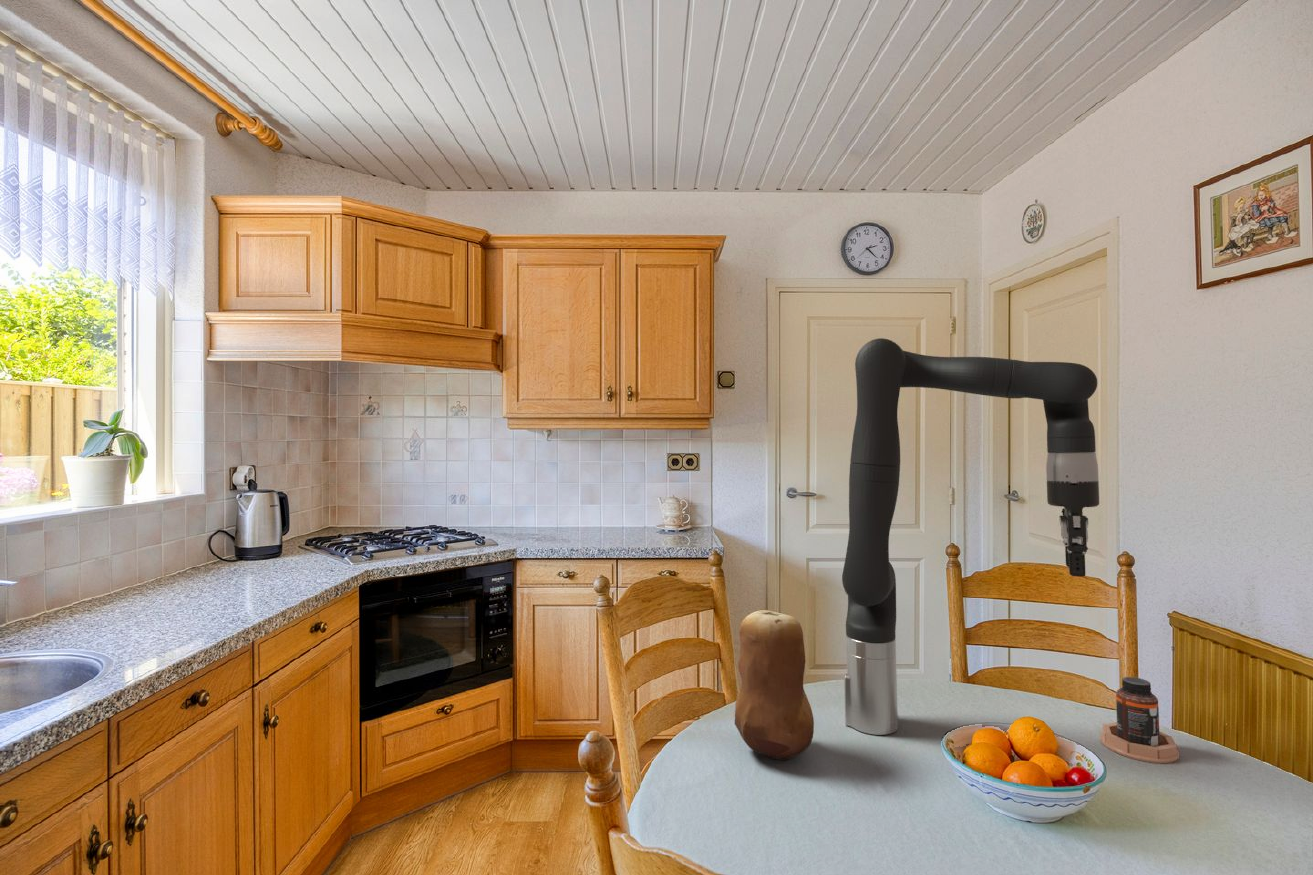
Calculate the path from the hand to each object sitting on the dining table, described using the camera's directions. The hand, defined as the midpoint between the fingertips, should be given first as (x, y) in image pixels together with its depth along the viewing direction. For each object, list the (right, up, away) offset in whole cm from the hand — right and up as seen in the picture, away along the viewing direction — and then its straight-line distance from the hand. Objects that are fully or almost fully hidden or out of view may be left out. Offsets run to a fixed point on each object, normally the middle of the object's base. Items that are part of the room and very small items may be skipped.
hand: (1075, 571), depth 106 cm
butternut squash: (-52, -33, +2) cm, 62 cm away
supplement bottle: (+13, -32, +2) cm, 34 cm away
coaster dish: (+13, -32, +2) cm, 35 cm away
